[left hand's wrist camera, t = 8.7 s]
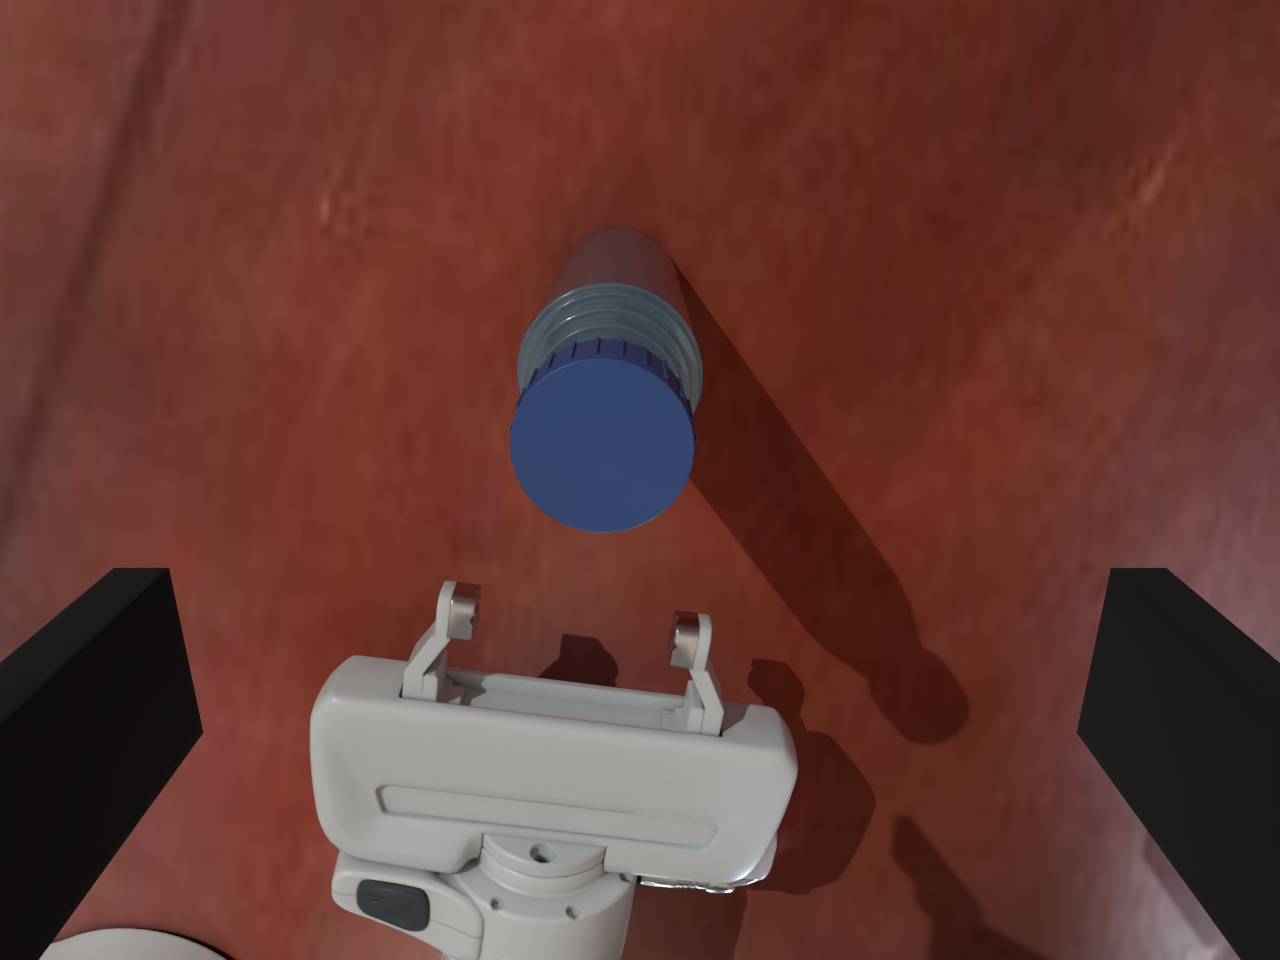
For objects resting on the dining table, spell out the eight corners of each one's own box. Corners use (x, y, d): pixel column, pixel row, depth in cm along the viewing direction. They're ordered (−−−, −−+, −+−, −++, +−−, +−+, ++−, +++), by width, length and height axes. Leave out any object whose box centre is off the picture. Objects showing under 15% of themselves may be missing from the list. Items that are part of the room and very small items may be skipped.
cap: (667, 314, 20) (669, 332, 18) (710, 477, 21) (717, 509, 20) (495, 362, 20) (481, 384, 19) (549, 519, 22) (541, 554, 20)
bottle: (661, 212, 37) (688, 295, 18) (692, 331, 39) (745, 518, 20) (543, 247, 38) (450, 362, 19) (579, 362, 39) (526, 574, 21)
